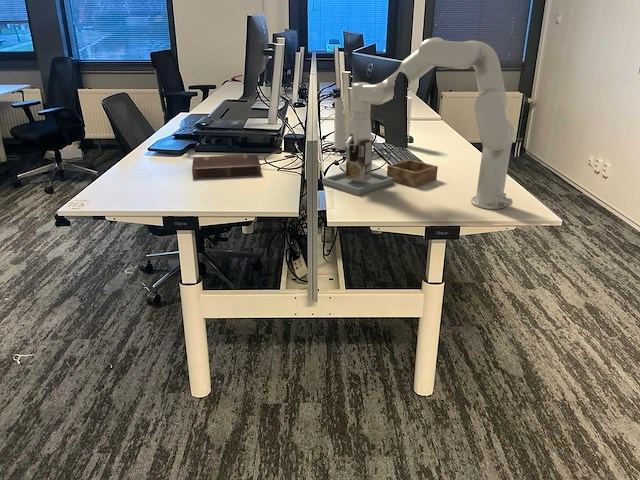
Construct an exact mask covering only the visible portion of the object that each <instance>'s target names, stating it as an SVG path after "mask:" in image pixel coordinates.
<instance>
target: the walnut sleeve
mask: <svg viewBox="0 0 640 480" xmlns="http://www.w3.org/2000/svg"><path fill="white" fill-rule="evenodd" d="M438 167H439V166H438V165H433V164H432V163H431V164H429V163H425V162H422V161H416V160H414V159H406V160H402V161H398V162H396V163H394V164H393V163H392V164H390V165H387V170H386V176H389V177H392V178H394V182H393V183H397V184H402V185H404V186H405V185H406V186H409V187H413V188H418V187H421V186H423V185H426V184H429V183H432V182H435V181H436V180H437V178H438V169H439V168H438Z"/></svg>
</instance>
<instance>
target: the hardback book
mask: <svg viewBox="0 0 640 480" xmlns="http://www.w3.org/2000/svg"><path fill="white" fill-rule="evenodd" d="M192 158H193V159H192V166H191V170H192V171H191V172H192V174H191V175H192V180H193V179H194V180H195V179H198V180H199V179H215V178H217V179H218V178H234V177H235V178H236V177H238V178H239V177H257V176H262V168H261V166H262V165H261V162H260V158H259V156H258V154H240V155H239V154H238V155H213V156H193V157H192Z"/></svg>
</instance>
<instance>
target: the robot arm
mask: <svg viewBox="0 0 640 480" xmlns="http://www.w3.org/2000/svg"><path fill="white" fill-rule="evenodd" d="M435 67H441V68H450V69H458V70H459V69H460V70H465V69H469V68H471V67H472V68H473V69H474V72H475V80H476V84H477V91H478V96H477V98H476V99H475V101H474V114H475V115H474V116H475V119H476V126H477V129H478V130H477V131H478V136H479V141H480V144H481V145H482V153H481V159H480V164H479V165H480V166H479V173H478V178H477V179H478V180H477V187H476V195H475V196H473V197H472V198H471V200H470V201H471V204H472V205H473V206H475V207H478V208H481V209H488V210H500V209H503V208H506V206H510V207H511V206H513V202H514V201H513V198H509V197H507V193H505V187H506V181H507V180H506V179H507V174H508V168H509V162H510V157H511V150H512V144H513V140H514V135H515V129H514V126H513V125H514V124H512V122H511V121H510V120H509V119H507V115H506V114H507V113H506V107H507V104H508V97H507V93H506V87H505V83H504V77H503V73H502V68H501V64H500V60H499V57H498V54H497V52H496V51H495V50H494V48H493V47H492V46H490V45H489V44H487V43H485V42H484V41H479V40H473V39H472V40H466V41H456V40H455V41H454V40H445V39H444V38H442V37H439V36H438V37H436V36H435V37H430V38H427V39H425V40H423V41H422V42H421V43H420V45H419V47H418V49H416V50H415V51H414V52H413V53H411V54H410V55H409V56H407V57H406V58H405V59H403V60H402V61H401V63H400V65H399V67H398V69H397V70H396V71H394V73H392V74H391V75H390V76H388V77H387V78H385V80H383V81H382V82H378V83H376V84H371V83H369V82H364V81H363V82H360V81H358V82H354V83H352V84H351V96H350V97H351V119H350V121H349V125H348V134H347V141H346V142H345V145H346V147H347V149H348V151H349V160H350V161H353V162H356V152H355V151H356V148H357V145H359V143H360V142H363V141H366V140H373V141H374V139H375V137H374V135H373V134H372V121H371V120H372V119H371V105H375V106H377V105H378V106H379V105H383V104H385V103H387V102H389V101H391V100H392V99H394V98H393V96H394V86H395V80H396V77H397V75H398V73H399V72H402V73H404V74H405V75H406V77H407V79H408V87H409V86H411V85H412V84H414V83H415V82H416V81H417V80H419V79H420V78H421V77H423V76H424V75H425V74H426V73H428V72H429V71H431V69H434V68H435ZM352 142H354V144H352ZM350 143H351V144H350ZM352 145H353V146H354V148H353V147H352Z"/></svg>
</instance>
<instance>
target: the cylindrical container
mask: <svg viewBox="0 0 640 480" xmlns="http://www.w3.org/2000/svg"><path fill="white" fill-rule="evenodd" d="M407 97H408V142H409V141H410V140H409V138H410V126H411V125H410V123H411V114H412V99H413V98H412V97H411V96H407Z"/></svg>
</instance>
